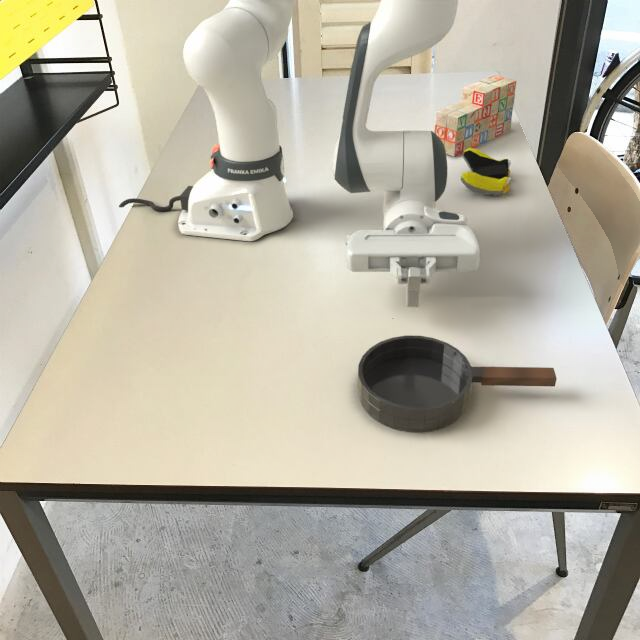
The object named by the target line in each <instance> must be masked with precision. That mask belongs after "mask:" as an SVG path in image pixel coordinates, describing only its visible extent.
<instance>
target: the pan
mask: <svg viewBox="0 0 640 640" xmlns="http://www.w3.org/2000/svg"><path fill="white" fill-rule="evenodd" d="M471 367H472V365H471V363H470V362H469V359H468V358H467V356H466V355H464V353H463V352H461V351H460V349H458V348H457V347H455V346H454V345H452V344H450V343H449V342H447V341H444V340H441V339H437V338H434V337H430V336H424V335H400V336H394V337H390V338H387V339H384V340H381V341H379V342H378V343H376V344H374V345H373V346H371V347H370V348H368V349H367V351H366V352H364V353H363V355H362V356H361V358H360V360H359V363H358V367H357V370H358V371H357V393H358V398H359V402H360V404H361V407H362V408H363V410H364V411H365V412H366V413H367V414H368V415H369V416H370V417H371V418H372V419H374V421H376V422H378V423H380V424H382V425H384V426H385V427H388V428H390V429H393V430H396V431H401V432H407V433H429V432H435V431H439V430H441V429H444V428H447V427H449V426H451V425H453V424H454V423H456V422H458V421H459V419H461V418H462V417H463V415H464V414H465V413H466V411H467V410H468V408H469V405H470V401H471V397H472V389H473V383H472V381H473V375H472V370H471Z"/></svg>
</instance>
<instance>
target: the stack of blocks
mask: <svg viewBox="0 0 640 640" xmlns="http://www.w3.org/2000/svg"><path fill="white" fill-rule="evenodd" d="M516 87H517V80H515V79H512V78H508V77H503V76H499V75H492V76H489V77H485V78H482V79H480V80H478V81H476V82H473V83H471V84H468V85H466V86H464V87H462V93H461V100H460V101H458V102H455V103H453V104H451V105H448V106H446V107H444V108H441V109H439V110H436V114H435V124H434V133H435V134H436V135H437V136H438V137H439V138H440V139H441V141H442V142H443V144H444V146H445V152H446V155H449V156H452V157H456V156H459V155H460V154H463V153H464V151H465V150H467V149H468V148H474V149H475V148H476V147H479V146H480V145H482V144H484V143H487V142H488V141H491V140H493V139H495V138H497V137H500V136H502V135H505V134H507V133H510V131H511V127H512V120H513V119H512V117H513V111H514V110H513V109H514V104H515V97H516Z"/></svg>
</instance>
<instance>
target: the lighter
mask: <svg viewBox="0 0 640 640" xmlns="http://www.w3.org/2000/svg"><path fill="white" fill-rule="evenodd" d="M407 269H408V284H405V300H406V301H405V303H406V307H407V308H419V297H420V290H421V284H420V283H421V269H420V268H417V267H409V268H407Z"/></svg>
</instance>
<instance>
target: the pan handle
mask: <svg viewBox="0 0 640 640" xmlns="http://www.w3.org/2000/svg"><path fill="white" fill-rule="evenodd" d="M471 370H472V375H473V381H472V384H480V385H481V386H492V387H493V386H496V387H497V386H499V387H500V386H501V387H502V386H504V387H508V386H509V387H510V386H511V387H549V388H550V387H551V388H553V387H556V384H557V379H558V378H557V373H556V370H555V368H554V367H542V366H541V367H537V366H535V367H534V366H532V367H531V366H526V367H525V366H471Z"/></svg>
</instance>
